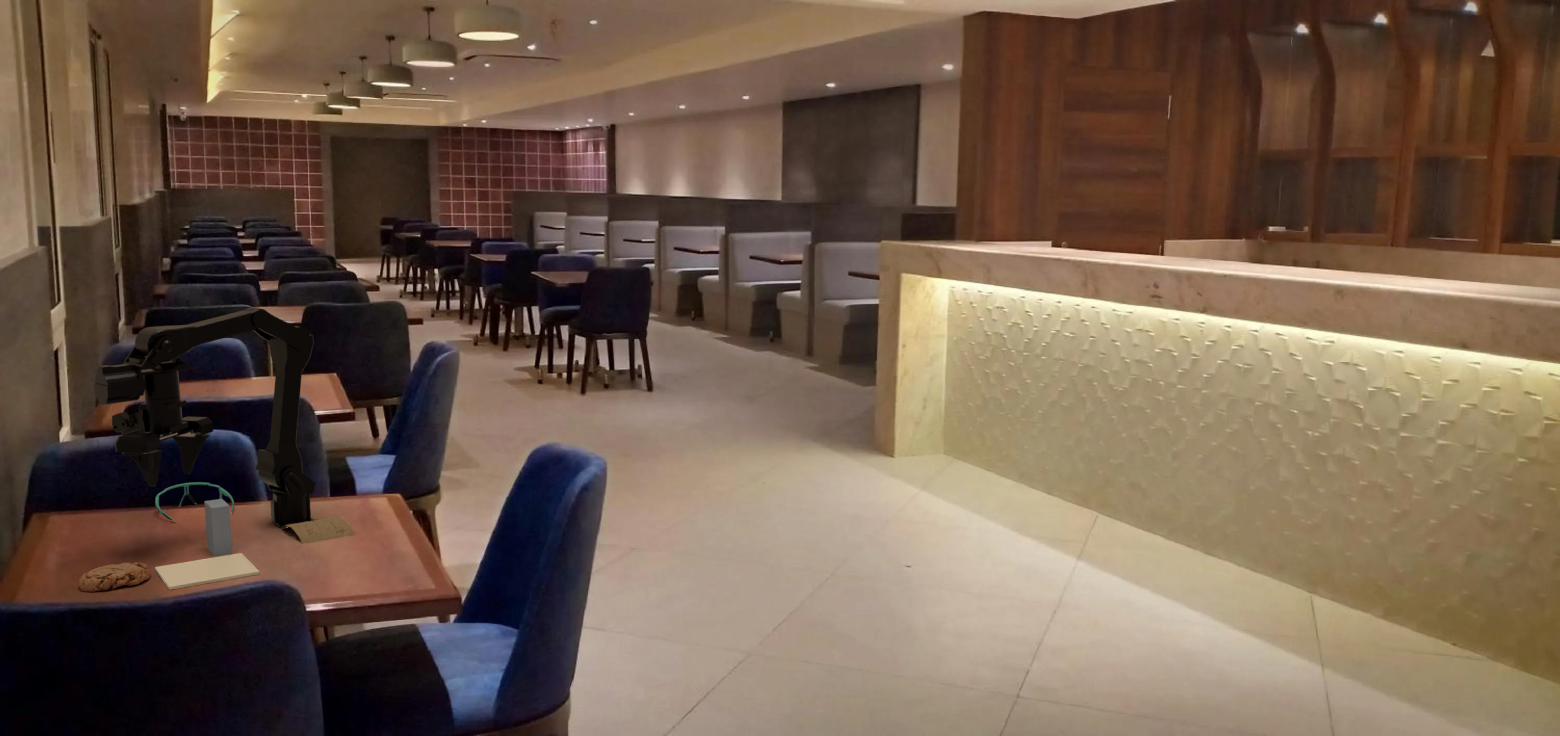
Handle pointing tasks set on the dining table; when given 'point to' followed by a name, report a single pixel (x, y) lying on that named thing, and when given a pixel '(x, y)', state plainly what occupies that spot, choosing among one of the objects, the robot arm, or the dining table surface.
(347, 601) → the dining table surface
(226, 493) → the sunglasses
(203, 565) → the placemat
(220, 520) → the blue-grey block
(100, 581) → the cookie
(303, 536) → the clay tablet
